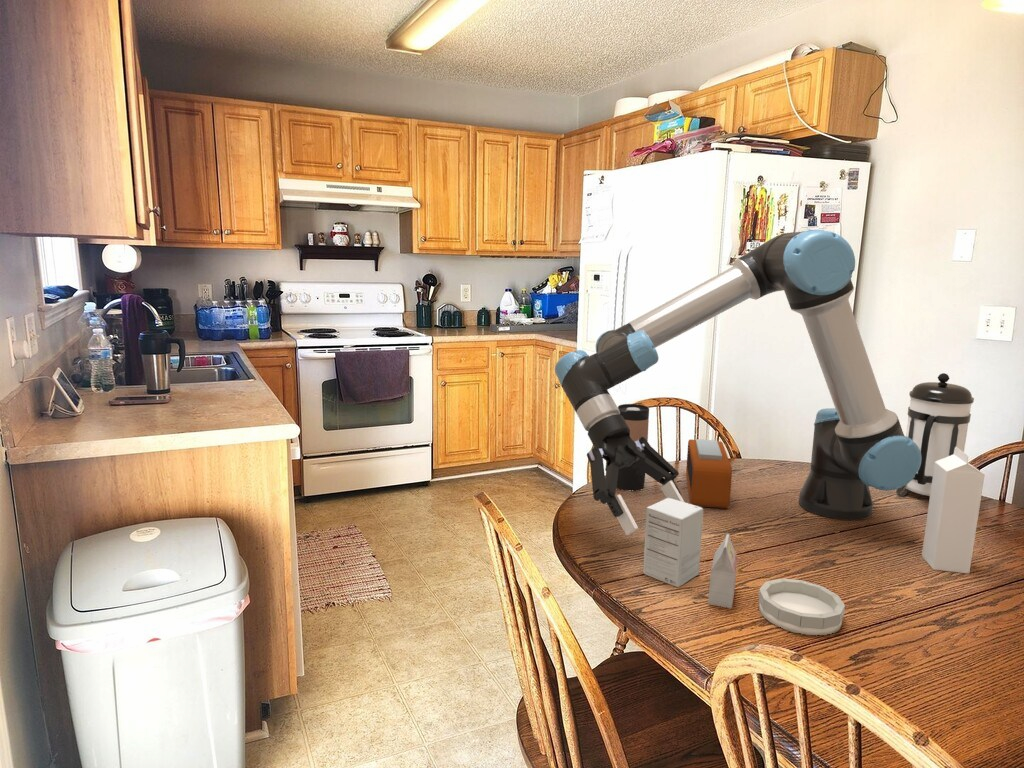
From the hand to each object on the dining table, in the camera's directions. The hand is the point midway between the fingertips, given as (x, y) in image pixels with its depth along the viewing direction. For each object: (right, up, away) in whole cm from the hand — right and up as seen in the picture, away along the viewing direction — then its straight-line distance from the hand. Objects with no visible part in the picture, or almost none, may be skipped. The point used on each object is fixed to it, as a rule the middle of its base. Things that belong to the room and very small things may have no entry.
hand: (659, 523), depth 117 cm
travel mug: (+3, -1, +46) cm, 46 cm away
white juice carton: (+9, -11, -7) cm, 16 cm away
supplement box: (+2, -9, 0) cm, 9 cm away
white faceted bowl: (+19, -12, -13) cm, 26 cm away
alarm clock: (+21, -2, +43) cm, 48 cm away
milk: (+54, -9, +6) cm, 55 cm away
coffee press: (+74, -3, +42) cm, 85 cm away
